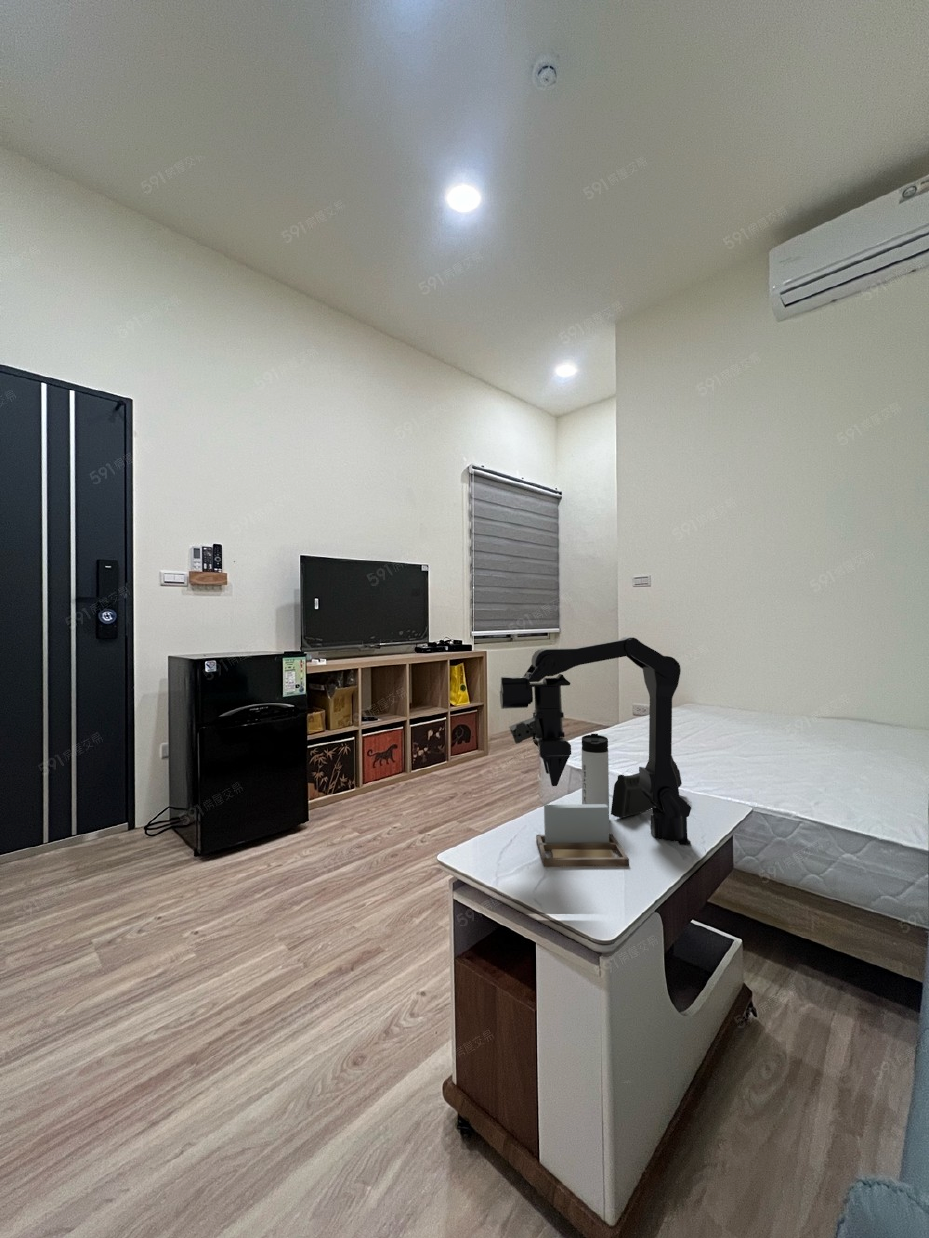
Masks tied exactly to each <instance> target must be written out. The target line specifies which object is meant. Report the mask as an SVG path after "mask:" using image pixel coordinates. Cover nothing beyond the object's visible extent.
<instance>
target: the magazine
mask: <svg viewBox="0 0 929 1238" xmlns="http://www.w3.org/2000/svg"><path fill="white" fill-rule="evenodd" d="M671 763H672V767H673V770H674V773H675V775H676V778H677V783H678V789H679V788H680V787H681V786H682V785H683V784H682V777H681V772H680V769H679V768H678V765H677V763H676V762H675V760H674V757H673V756H672V758H671ZM639 780H640V773H639V772H637V773H634V774H632V775H631V774H630V775H624V774H622V773H621V774H619V775H617V779H616V781H615V782H614V785H613V794H612V801H611V809H610V815H611V816H613V817H615V818H621V819H624V818H625V817H629V816H634V815H639V814H641V813H645V812H648V811H650V810H652V809H653V808H656V807H655V806H654V805H652V804H651V802H650V799H649V798H648V797H646V796H645V795H644V793H643V792H642V789H641V786H640V785H638V783H639ZM651 808H652V809H651ZM649 809H650V810H649ZM647 810H648V811H647Z"/></svg>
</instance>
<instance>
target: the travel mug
mask: <svg viewBox="0 0 929 1238" xmlns="http://www.w3.org/2000/svg"><path fill="white" fill-rule="evenodd" d="M608 747H609V739H608V737H606V736H604V735H602V734H601V735H599V734H598V733H590V734H586V735H583V736H582V737H581V804H606V805H607V806H608V818H609V819H610V793H609V792H610V788H609V787H610V782H609V781H610V780H609V779H610V778H609V775H610V774H609V773H610V772H609V767H610V766H609V764H610V763H609V748H608Z"/></svg>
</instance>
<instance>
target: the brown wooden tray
mask: <svg viewBox="0 0 929 1238" xmlns="http://www.w3.org/2000/svg"><path fill="white" fill-rule="evenodd" d="M535 839H536V844H537V848H538V851H539V855H540V859H541V863H542V865H543V868H555V867H558V868H559V867H560V868H565V867H566V868H567V867H570V868H571V867H574V868H575V867H576V868H577V867H581V868H582V867H630V858H629V857H628V855H627V854H626V852H625V851H624V849H623V848H622V846H621V845H620V843H619V842H618V840H617V839H616V837H615V836H614V834H613V833H609V843H545V834H536V837H535ZM551 849H576V850H612V851H613V852H615V854H616V855H618V857H617V856H615V857H600V858H553V857H548V856H547V854H546V853H547V852H552V851H551Z"/></svg>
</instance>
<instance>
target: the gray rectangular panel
mask: <svg viewBox="0 0 929 1238" xmlns="http://www.w3.org/2000/svg"><path fill="white" fill-rule="evenodd" d="M543 815H544V816H543V819H544V820H543V821H544V826H543V827H544V835H545V843H610V842H609V834H610V825H609V824H610V822H609V820H610V817H609V818H608V806H607V805H606V804H582V803H581V804H580V803H579V804H577V803H576V804H544V805H543Z"/></svg>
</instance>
